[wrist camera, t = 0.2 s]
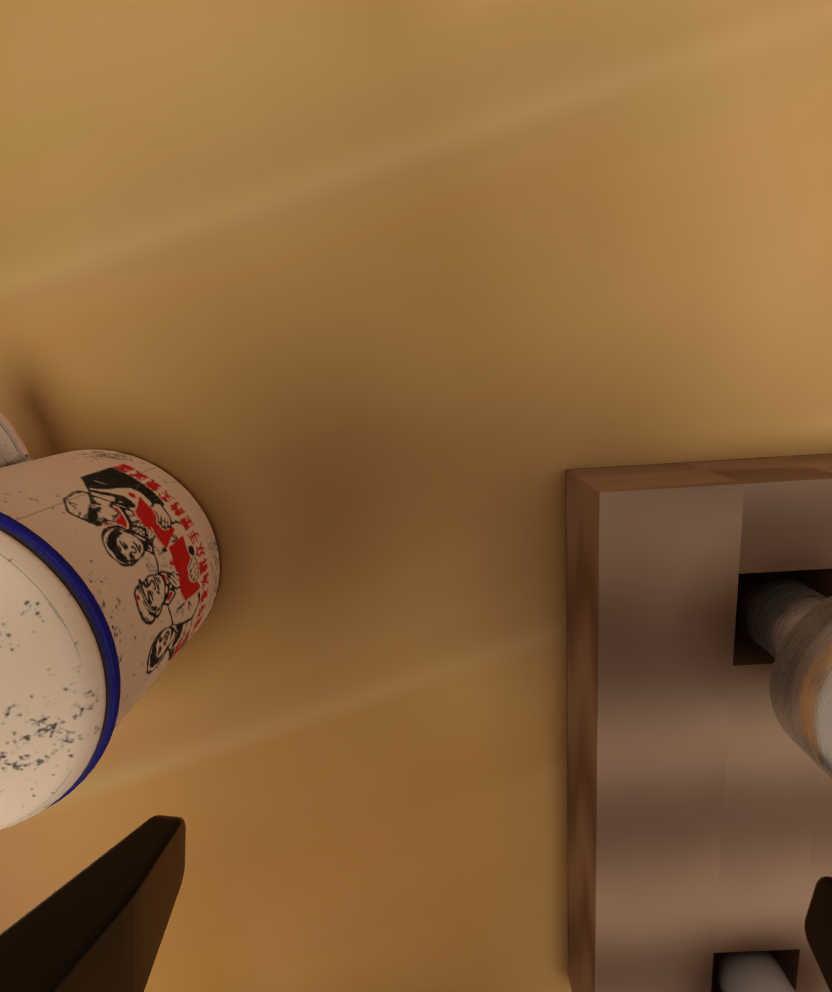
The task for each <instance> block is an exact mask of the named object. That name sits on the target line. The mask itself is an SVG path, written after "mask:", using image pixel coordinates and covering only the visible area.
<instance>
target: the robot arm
mask: <svg viewBox="0 0 832 992" xmlns="http://www.w3.org/2000/svg"><path fill="white" fill-rule="evenodd" d="M185 831H186V827H185V822H184V820H183V819H182V818H181V817H173V816H162V815H157V816H154V817H152V818H150V819H149V820H147V821H146V822H145V823H143V824H142V825H141V826H139V827H138V828H137V829H136V830H134V831H133V832H132V833H130V834H129V835H128V836H127V837H125V838H124V839H123V840H121V841H120V842H119V843H118V844H116V845H115V846H114V847H112V848H111V849H110V850H108V851H107V852H106V853H105V854H103V855H102V856H101V857H99V858H98V859H97V860H96V861H94V862H93V863H92V864H90V865H89V866H88V867H87V868H85V869H84V870H83V871H81V872H80V873H79V874H78V875H76V876H75V877H74V878H72V879H71V880H70V881H68V882H67V883H66V884H65V885H63V886H62V887H61V888H59V889H58V890H57V891H56V892H54V893H53V894H52V895H50V896H49V897H48V898H47V899H45V900H44V901H43V902H41V903H40V904H39V905H37V906H36V907H35V908H34V909H32V910H31V911H30V912H28V913H27V914H26V915H25V916H23V917H22V918H21V919H19V920H18V921H17V922H16V923H14V924H13V925H12V926H10V927H9V928H8V929H7V930H5V931H4V932H3V933H1V934H0V992H144V989H145V987H146V984H147V981H148V978H149V975H150V972H151V969H152V967H153V964H154V961H155V958H156V955H157V952H158V949H159V947H160V944H161V941H162V938H163V935H164V932H165V929H166V927H167V924H168V921H169V918H170V915H171V912H172V909H173V907H174V904H175V901H176V898H177V895H178V892H179V889H180V886H181V883H182V879H183V875H184V868H185ZM804 928H805V934H806V938H807V941H808V944H809V946H810V949H811V951H812V953H813V955H814V957H815V960H816V962H817V964H818V966H819V968H820V971H821V973H822V975H823V977H824V979H825V982H826V984H827V986H828V988H829V990H830V992H832V877H830V876H824V877H821V878H820V879H819V880H818V881H817V883H816V885H815V889H814V892H813V895H812V898H811V901H810V905H809V908H808V911H807V914H806V917H805V923H804Z"/></svg>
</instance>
